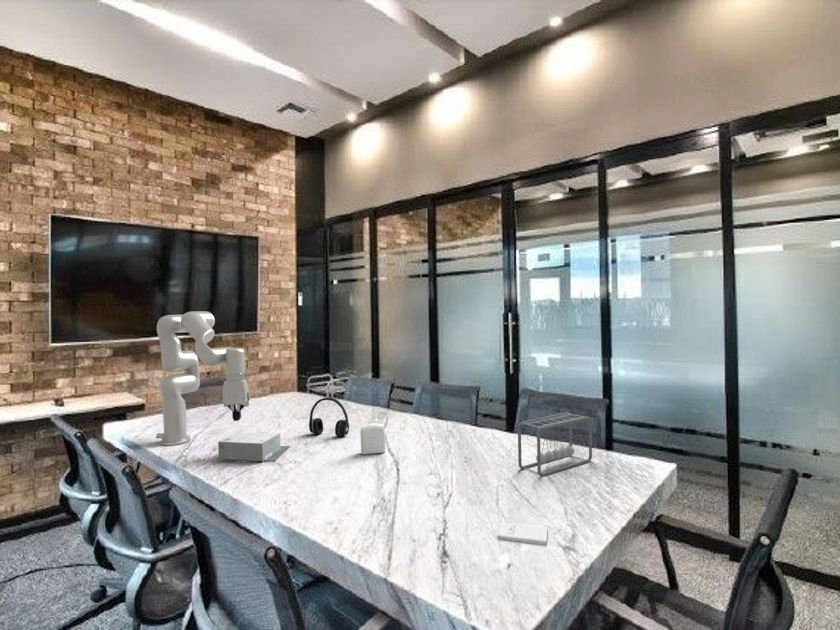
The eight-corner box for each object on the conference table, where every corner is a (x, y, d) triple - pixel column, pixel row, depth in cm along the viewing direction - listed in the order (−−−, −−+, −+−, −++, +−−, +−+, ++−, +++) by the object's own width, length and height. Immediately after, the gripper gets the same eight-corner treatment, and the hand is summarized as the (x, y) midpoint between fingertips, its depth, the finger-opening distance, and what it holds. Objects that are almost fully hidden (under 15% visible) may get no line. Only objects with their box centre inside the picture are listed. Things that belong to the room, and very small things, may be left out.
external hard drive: (546, 547, 120) (497, 540, 123) (547, 532, 127) (501, 526, 131) (546, 541, 119) (497, 534, 123) (547, 526, 127) (501, 520, 131)
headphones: (307, 436, 227) (306, 398, 227) (314, 432, 234) (313, 395, 234) (344, 439, 221) (343, 400, 221) (350, 435, 228) (350, 397, 227)
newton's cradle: (539, 478, 166) (538, 428, 166) (517, 469, 175) (517, 422, 175) (592, 461, 183) (592, 415, 182) (570, 454, 191) (570, 411, 191)
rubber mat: (221, 462, 191) (221, 461, 191) (241, 447, 211) (241, 446, 211) (275, 461, 190) (275, 460, 190) (290, 446, 210) (290, 445, 210)
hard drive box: (217, 460, 192) (262, 462, 188) (217, 441, 192) (261, 443, 188) (239, 448, 208) (281, 450, 204) (239, 431, 207) (280, 432, 203)
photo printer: (361, 455, 196) (360, 425, 196) (360, 452, 200) (360, 423, 200) (385, 453, 198) (385, 424, 197) (384, 450, 202) (384, 421, 202)
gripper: (214, 378, 196) (215, 422, 197) (249, 378, 196) (250, 422, 196) (222, 376, 204) (223, 418, 204) (256, 375, 203) (257, 418, 204)
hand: (236, 420), depth 200 cm, fingers closed
